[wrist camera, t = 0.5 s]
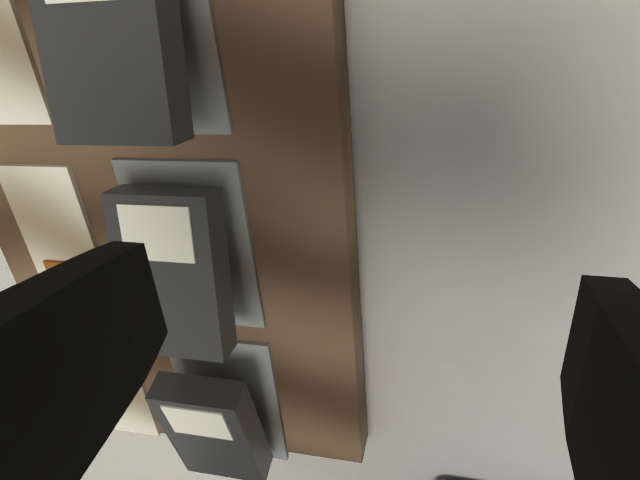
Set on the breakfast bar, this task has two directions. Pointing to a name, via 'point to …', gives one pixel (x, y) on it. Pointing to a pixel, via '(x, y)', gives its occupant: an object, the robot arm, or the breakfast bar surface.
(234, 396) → the switch
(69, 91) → the switch
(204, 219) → the switch mid
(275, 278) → the switch panel
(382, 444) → the breakfast bar surface
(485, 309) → the breakfast bar surface
